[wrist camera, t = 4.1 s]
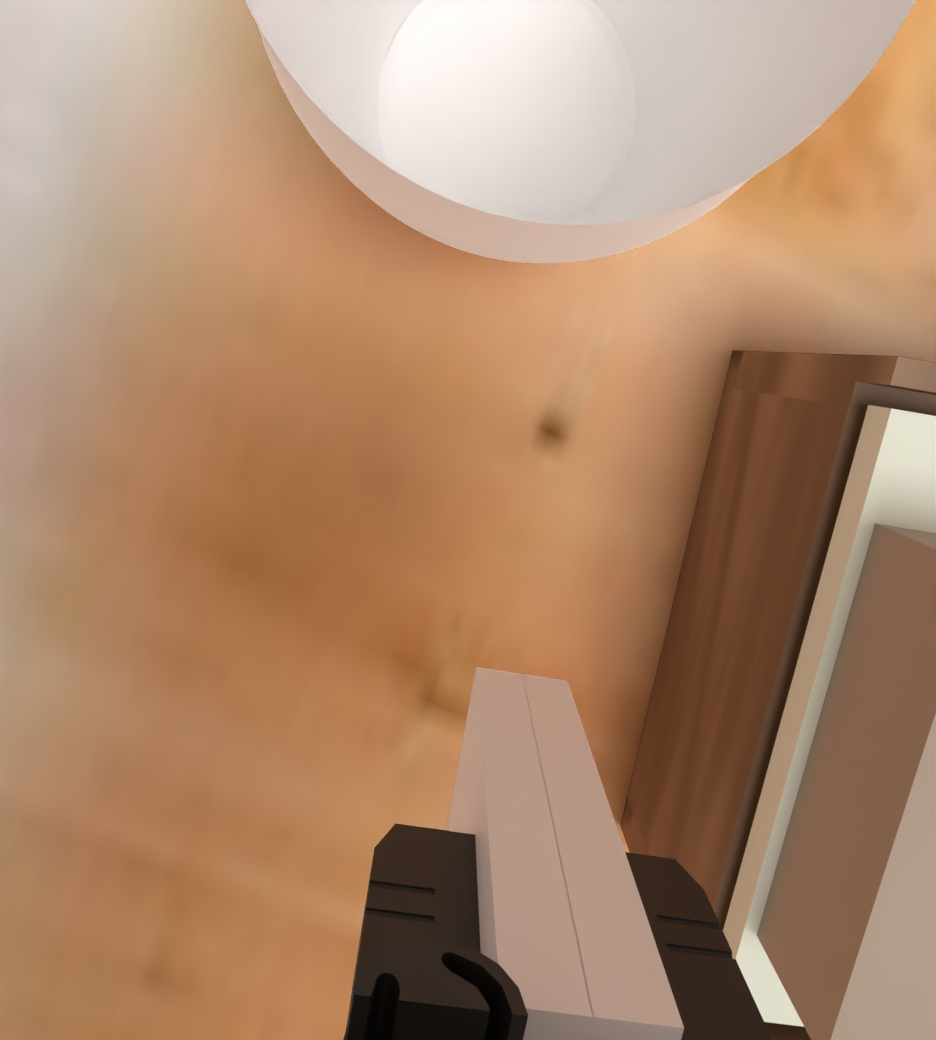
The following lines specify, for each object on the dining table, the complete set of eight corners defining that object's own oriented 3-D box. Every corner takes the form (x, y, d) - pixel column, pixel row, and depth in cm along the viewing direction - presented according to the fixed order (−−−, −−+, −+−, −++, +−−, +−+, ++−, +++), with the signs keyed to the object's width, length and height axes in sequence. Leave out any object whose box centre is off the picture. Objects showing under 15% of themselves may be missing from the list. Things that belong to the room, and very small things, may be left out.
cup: (602, 343, 22) (783, 346, 10) (287, 224, 21) (83, 75, 9) (735, 0, 20) (1145, -482, 8) (397, -147, 19) (320, -922, 7)
